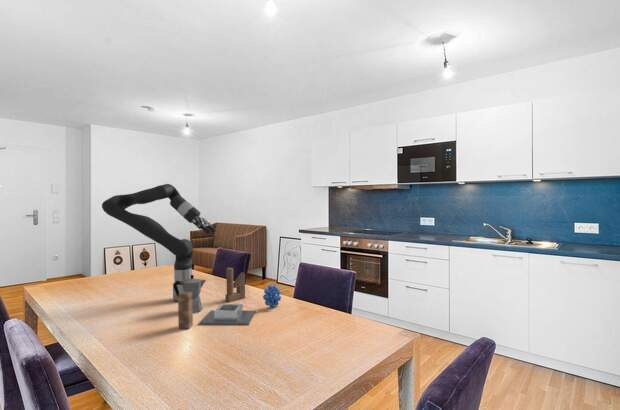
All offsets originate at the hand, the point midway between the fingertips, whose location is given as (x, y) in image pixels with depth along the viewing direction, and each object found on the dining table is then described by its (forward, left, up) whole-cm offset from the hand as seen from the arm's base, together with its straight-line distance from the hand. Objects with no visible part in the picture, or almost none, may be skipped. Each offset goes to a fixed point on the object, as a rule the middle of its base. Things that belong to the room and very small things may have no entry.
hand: (212, 232), depth 175 cm
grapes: (+32, -2, -39) cm, 50 cm away
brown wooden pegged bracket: (+9, +12, -39) cm, 42 cm away
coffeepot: (-9, -7, -39) cm, 40 cm away
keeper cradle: (+13, -17, -38) cm, 44 cm away
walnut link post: (-3, -28, -38) cm, 48 cm away
